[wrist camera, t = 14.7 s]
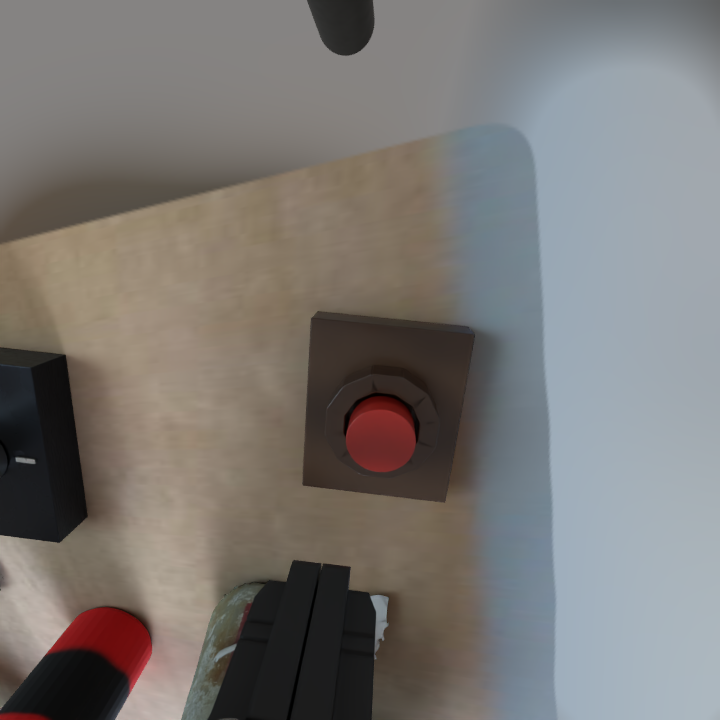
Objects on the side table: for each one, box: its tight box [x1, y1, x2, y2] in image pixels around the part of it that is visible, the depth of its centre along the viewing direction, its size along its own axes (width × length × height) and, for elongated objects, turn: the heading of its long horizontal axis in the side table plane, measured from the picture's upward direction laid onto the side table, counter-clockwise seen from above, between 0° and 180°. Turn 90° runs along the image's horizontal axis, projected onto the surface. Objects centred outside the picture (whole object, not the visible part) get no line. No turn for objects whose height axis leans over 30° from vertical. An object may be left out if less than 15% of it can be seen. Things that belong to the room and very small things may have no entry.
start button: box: [346, 396, 416, 472], centre depth 24 cm, size 4×4×2 cm
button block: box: [302, 312, 475, 503], centre depth 27 cm, size 12×10×4 cm
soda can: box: [0, 607, 152, 720], centre depth 32 cm, size 8×8×12 cm
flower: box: [371, 595, 389, 660], centre depth 34 cm, size 8×8×3 cm
